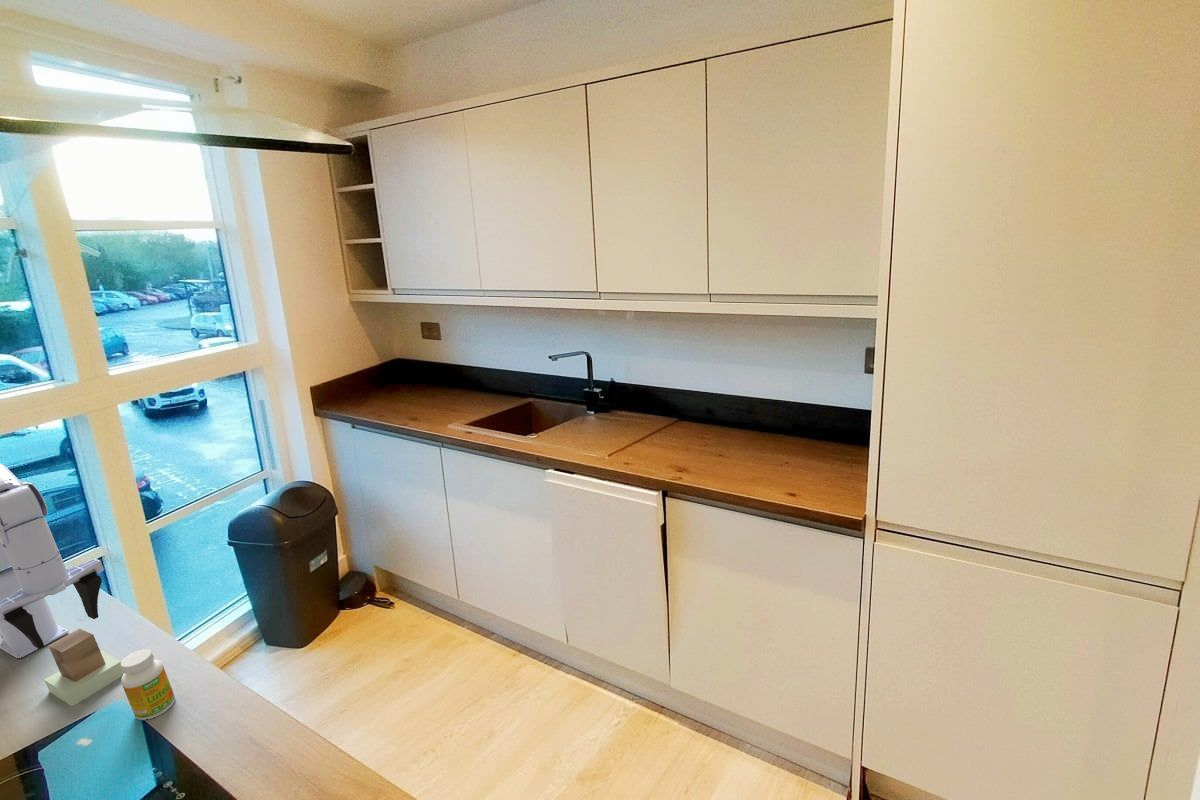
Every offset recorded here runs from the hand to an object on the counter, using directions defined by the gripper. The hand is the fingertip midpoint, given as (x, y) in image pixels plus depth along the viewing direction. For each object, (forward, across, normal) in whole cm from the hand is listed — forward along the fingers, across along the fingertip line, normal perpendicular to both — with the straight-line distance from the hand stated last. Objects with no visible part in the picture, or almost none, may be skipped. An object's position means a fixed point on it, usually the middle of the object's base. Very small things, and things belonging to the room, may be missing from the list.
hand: (67, 631), depth 103 cm
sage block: (+11, 0, 0) cm, 11 cm away
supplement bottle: (+11, +2, -18) cm, 21 cm away
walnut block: (+8, 0, 0) cm, 8 cm away
